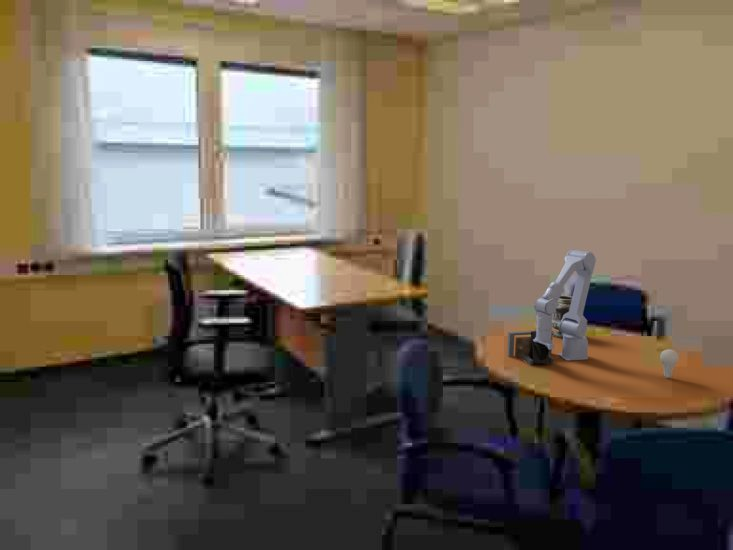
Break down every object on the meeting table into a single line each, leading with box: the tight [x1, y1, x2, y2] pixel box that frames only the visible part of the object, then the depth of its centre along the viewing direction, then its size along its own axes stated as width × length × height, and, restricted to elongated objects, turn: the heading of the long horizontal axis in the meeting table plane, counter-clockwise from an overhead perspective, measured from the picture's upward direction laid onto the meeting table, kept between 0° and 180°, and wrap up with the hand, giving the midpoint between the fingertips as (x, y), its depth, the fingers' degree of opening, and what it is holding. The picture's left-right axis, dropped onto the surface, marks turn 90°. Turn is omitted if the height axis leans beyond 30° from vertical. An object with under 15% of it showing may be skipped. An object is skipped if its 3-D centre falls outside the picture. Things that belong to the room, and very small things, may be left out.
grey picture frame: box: [506, 330, 554, 357], centre depth 258 cm, size 19×2×10 cm, turn 99°
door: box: [514, 336, 531, 358], centre depth 255 cm, size 14×3×8 cm, turn 99°
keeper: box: [520, 353, 555, 366], centre depth 251 cm, size 10×9×2 cm
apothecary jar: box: [552, 295, 576, 339], centre depth 283 cm, size 12×12×18 cm
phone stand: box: [529, 330, 550, 364], centre depth 249 cm, size 9×6×12 cm, turn 179°
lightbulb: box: [659, 348, 679, 379], centre depth 231 cm, size 6×6×11 cm
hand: (542, 361), depth 246 cm, fingers closed, pressing on phone stand
